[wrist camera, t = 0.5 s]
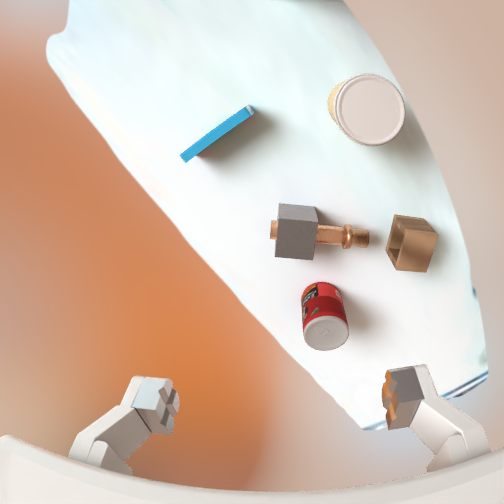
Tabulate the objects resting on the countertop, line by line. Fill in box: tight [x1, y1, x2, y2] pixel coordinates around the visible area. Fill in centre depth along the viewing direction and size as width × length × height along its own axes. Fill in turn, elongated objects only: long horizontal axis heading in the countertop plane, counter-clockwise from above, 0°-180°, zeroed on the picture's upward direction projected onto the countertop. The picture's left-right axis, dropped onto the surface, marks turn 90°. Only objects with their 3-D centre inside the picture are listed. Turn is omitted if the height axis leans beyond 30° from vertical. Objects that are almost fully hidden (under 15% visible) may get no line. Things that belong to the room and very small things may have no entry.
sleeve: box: [275, 204, 318, 260], centre depth 52 cm, size 7×6×6 cm
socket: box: [386, 215, 438, 272], centre depth 51 cm, size 7×6×7 cm
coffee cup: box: [328, 73, 405, 146], centre depth 39 cm, size 9×9×12 cm
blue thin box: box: [180, 105, 255, 163], centre depth 46 cm, size 12×2×6 cm, turn 125°
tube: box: [270, 220, 369, 249], centre depth 52 cm, size 4×16×4 cm, turn 87°
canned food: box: [301, 282, 349, 351], centre depth 57 cm, size 8×8×11 cm
